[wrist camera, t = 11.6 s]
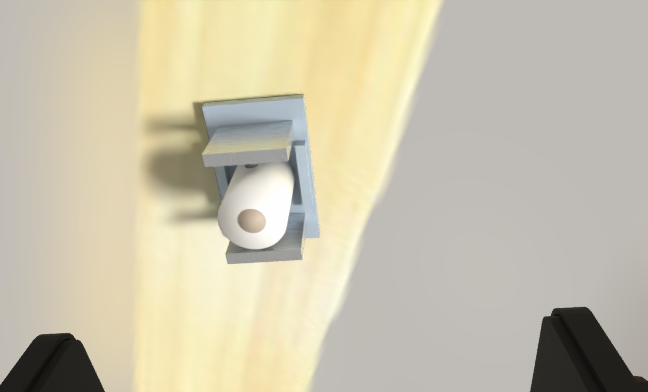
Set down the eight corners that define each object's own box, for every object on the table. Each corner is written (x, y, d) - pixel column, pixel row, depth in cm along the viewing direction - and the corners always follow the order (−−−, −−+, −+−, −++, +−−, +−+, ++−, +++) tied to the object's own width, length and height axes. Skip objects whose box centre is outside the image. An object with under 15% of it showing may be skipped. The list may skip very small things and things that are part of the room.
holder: (205, 102, 39) (198, 111, 37) (303, 94, 38) (302, 102, 36) (234, 236, 45) (230, 249, 43) (319, 231, 45) (319, 243, 43)
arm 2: (236, 209, 42) (223, 245, 38) (304, 204, 42) (299, 240, 37) (240, 226, 43) (227, 264, 39) (306, 222, 43) (302, 259, 38)
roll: (230, 151, 40) (210, 193, 34) (290, 146, 39) (281, 188, 33) (241, 203, 42) (224, 251, 36) (298, 199, 42) (291, 247, 36)
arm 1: (218, 126, 39) (201, 154, 34) (293, 120, 38) (286, 148, 33) (223, 146, 40) (207, 177, 35) (295, 141, 39) (289, 171, 34)
